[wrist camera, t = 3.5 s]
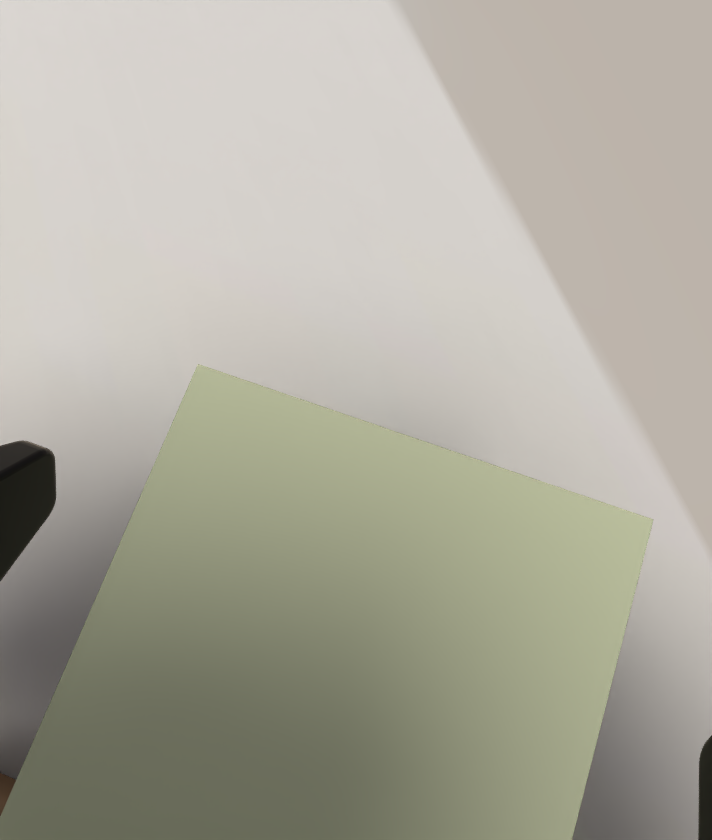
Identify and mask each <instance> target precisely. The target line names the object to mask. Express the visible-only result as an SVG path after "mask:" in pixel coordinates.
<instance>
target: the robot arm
mask: <svg viewBox="0 0 712 840" xmlns="http://www.w3.org/2000/svg"><path fill="white" fill-rule="evenodd" d="M55 501H56V473H55V456H54V454H53V453H52V451H50V450H49V449H47V448H45V447H42V446H39V445H37V444H34V443H31V442H28V441H17V442H13V443H9V444H5V445H2V446H0V581H1V580H2V578H3V577H4V576H5V574H6V573H7V572H8V570H9V569H10V568H11V566H12V565H13V564H14V562H15V561H16V560H17V558H18V557H19V555H20V554H21V553H22V551H23V550H24V549H25V547H26V546H27V545H28V543H29V542H30V541H31V539H32V538H33V537H34V535H35V534H36V532H37V531H38V530H39V528H40V527H41V526H42V524H43V523H44V522H45V520H46V519H47V518H48V516H49V515H50V513H51V511H52V509H53V507H54V505H55ZM698 840H712V736H711V737H710V738H709V739H708V740H707V741H706V743H705V744H704V746H703V748H702V751H701V755H700V761H699V833H698Z"/></svg>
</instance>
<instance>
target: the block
mask: <svg viewBox="0 0 712 840" xmlns="http://www.w3.org/2000/svg"><path fill="white" fill-rule="evenodd" d="M652 523H653V519H650V518H647V517H644V516H641V515H638V514H635V513H632V512H630V511H627V510H624V509H621V508H618V507H615V506H612V505H609V504H606V503H603V502H600V501H597V500H594V499H591V498H589V497H586V496H583V495H580V494H577V493H574V492H571V491H568V490H565V489H562V488H559V487H556V486H553V485H550V484H548V483H545V482H542V481H539V480H536V479H533V478H530V477H527V476H524V475H521V474H518V473H515V472H512V471H509V470H507V469H504V468H501V467H498V466H495V465H492V464H489V463H486V462H483V461H480V460H477V459H474V458H471V457H468V456H466V455H463V454H460V453H457V452H454V451H451V450H448V449H445V448H442V447H439V446H436V445H433V444H430V443H427V442H425V441H422V440H419V439H416V438H413V437H410V436H407V435H404V434H401V433H398V432H395V431H392V430H389V429H386V428H384V427H381V426H378V425H375V424H372V423H369V422H366V421H363V420H360V419H357V418H354V417H351V416H348V415H345V414H343V413H340V412H337V411H334V410H331V409H328V408H325V407H322V406H319V405H316V404H313V403H310V402H307V401H304V400H302V399H299V398H296V397H293V396H290V395H287V394H284V393H281V392H278V391H275V390H272V389H269V388H266V387H263V386H261V385H258V384H255V383H252V382H249V381H246V380H243V379H240V378H237V377H234V376H231V375H228V374H225V373H222V372H220V371H217V370H214V369H211V368H208V367H205V366H202V365H199V364H198V365H197V368H196V370H195V372H194V374H193V377H192V379H191V381H190V384H189V386H188V388H187V390H186V393H185V395H184V397H183V400H182V402H181V404H180V406H179V409H178V411H177V413H176V416H175V418H174V420H173V422H172V425H171V427H170V429H169V432H168V434H167V436H166V438H165V441H164V443H163V445H162V448H161V450H160V452H159V455H158V457H157V459H156V461H155V464H154V466H153V468H152V471H151V473H150V475H149V477H148V480H147V482H146V484H145V487H144V489H143V491H142V493H141V496H140V498H139V500H138V503H137V505H136V507H135V509H134V512H133V514H132V516H131V519H130V521H129V523H128V525H127V528H126V530H125V532H124V535H123V537H122V539H121V541H120V544H119V546H118V548H117V551H116V553H115V555H114V557H113V560H112V562H111V564H110V567H109V569H108V571H107V574H106V576H105V578H104V580H103V583H102V585H101V587H100V590H99V592H98V594H97V596H96V599H95V601H94V603H93V606H92V608H91V610H90V612H89V615H88V617H87V619H86V622H85V624H84V626H83V628H82V631H81V633H80V635H79V638H78V640H77V642H76V644H75V647H74V649H73V651H72V654H71V656H70V658H69V660H68V663H67V665H66V667H65V670H64V672H63V674H62V676H61V679H60V681H59V683H58V686H57V688H56V690H55V692H54V695H53V697H52V699H51V702H50V704H49V706H48V709H47V711H46V713H45V715H44V718H43V720H42V722H41V725H40V727H39V729H38V731H37V734H36V736H35V738H34V741H33V743H32V745H31V747H30V750H29V752H28V754H27V757H26V759H25V761H24V763H23V766H22V768H21V770H20V773H19V775H18V777H17V779H16V782H15V784H14V786H13V789H12V791H11V793H10V795H9V798H8V800H7V802H6V805H5V807H4V809H3V811H2V814H1V816H0V840H572V837H573V833H574V829H575V826H576V822H577V818H578V814H579V810H580V806H581V802H582V798H583V794H584V790H585V786H586V782H587V778H588V774H589V771H590V767H591V763H592V759H593V755H594V751H595V747H596V743H597V739H598V735H599V731H600V727H601V723H602V719H603V715H604V712H605V708H606V704H607V700H608V696H609V692H610V688H611V684H612V680H613V676H614V672H615V668H616V664H617V660H618V657H619V653H620V649H621V645H622V641H623V637H624V633H625V629H626V625H627V621H628V617H629V613H630V609H631V605H632V601H633V598H634V594H635V590H636V586H637V582H638V578H639V574H640V570H641V566H642V562H643V558H644V554H645V550H646V546H647V543H648V539H649V535H650V531H651V527H652Z"/></svg>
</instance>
